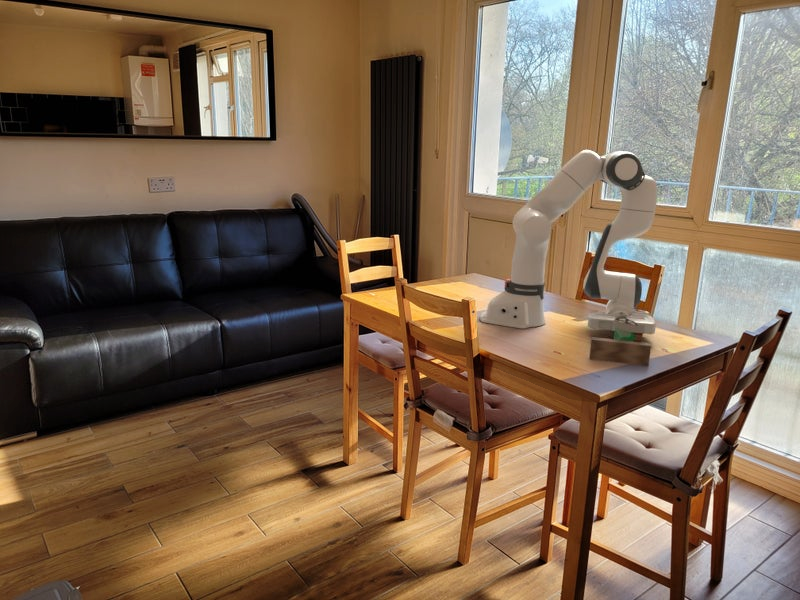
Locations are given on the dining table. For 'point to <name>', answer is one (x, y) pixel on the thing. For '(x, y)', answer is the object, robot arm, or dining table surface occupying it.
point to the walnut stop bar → (620, 351)
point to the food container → (627, 329)
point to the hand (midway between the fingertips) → (621, 330)
